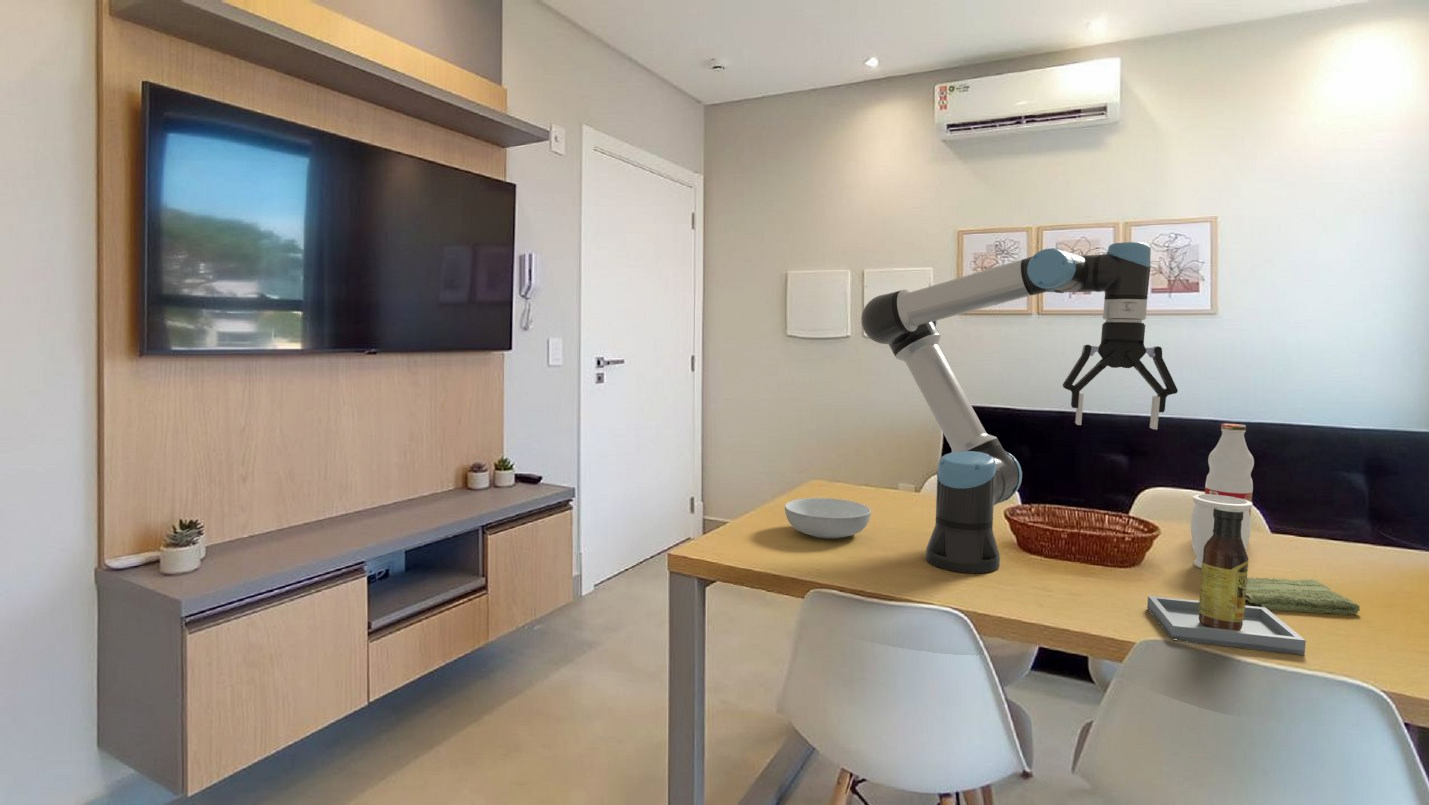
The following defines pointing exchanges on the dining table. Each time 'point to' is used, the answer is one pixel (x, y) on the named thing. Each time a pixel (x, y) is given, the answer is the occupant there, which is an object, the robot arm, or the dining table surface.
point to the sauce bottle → (1224, 573)
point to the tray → (1255, 633)
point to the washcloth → (1297, 596)
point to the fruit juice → (1231, 465)
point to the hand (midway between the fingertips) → (1115, 426)
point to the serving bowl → (827, 517)
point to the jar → (1205, 521)
